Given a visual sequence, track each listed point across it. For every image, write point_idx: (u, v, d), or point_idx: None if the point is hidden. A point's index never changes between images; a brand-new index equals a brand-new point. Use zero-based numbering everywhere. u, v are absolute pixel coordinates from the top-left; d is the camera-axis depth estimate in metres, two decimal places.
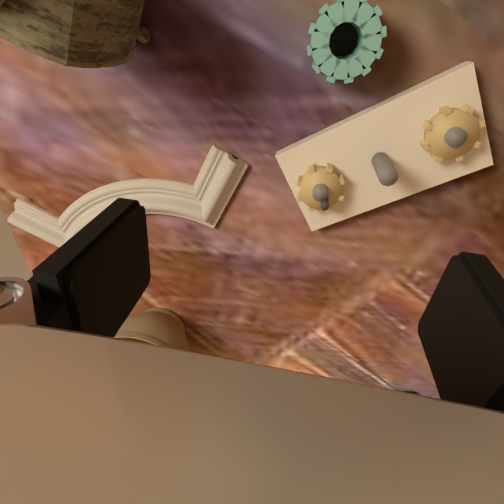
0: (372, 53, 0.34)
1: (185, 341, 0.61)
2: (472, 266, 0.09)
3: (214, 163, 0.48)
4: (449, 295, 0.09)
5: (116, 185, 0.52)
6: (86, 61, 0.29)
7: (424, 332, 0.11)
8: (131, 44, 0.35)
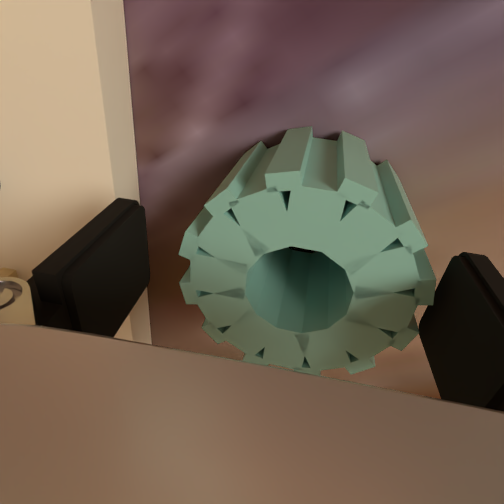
0: (224, 323, 0.12)
1: None
2: (473, 266, 0.09)
3: None
4: (450, 295, 0.09)
5: None
6: None
7: (425, 333, 0.11)
8: None
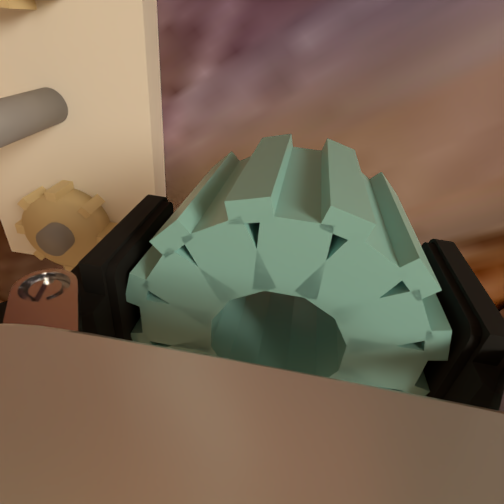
0: None
1: None
2: (439, 251, 0.09)
3: None
4: None
5: None
6: None
7: None
8: None
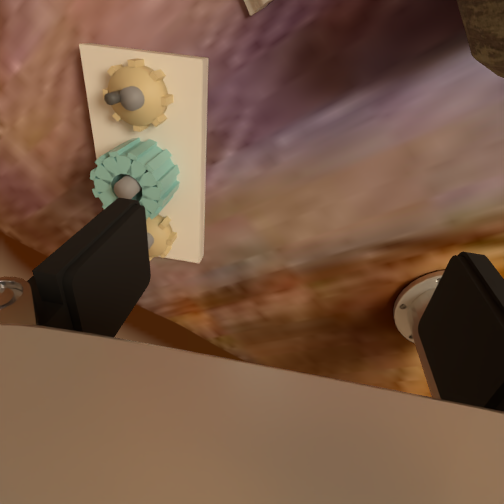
0: (108, 204, 0.36)
1: None
2: (472, 266, 0.09)
3: None
4: (449, 295, 0.09)
5: None
6: None
7: (425, 332, 0.11)
8: None
